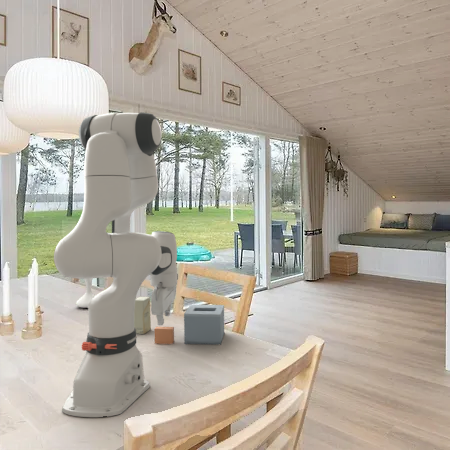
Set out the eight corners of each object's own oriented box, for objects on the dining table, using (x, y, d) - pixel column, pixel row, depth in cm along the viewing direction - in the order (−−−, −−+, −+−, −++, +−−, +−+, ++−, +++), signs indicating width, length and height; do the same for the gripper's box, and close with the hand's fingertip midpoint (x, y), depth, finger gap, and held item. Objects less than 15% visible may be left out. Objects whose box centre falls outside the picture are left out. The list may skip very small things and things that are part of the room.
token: (172, 344, 134) (172, 329, 134) (154, 343, 135) (154, 328, 135) (174, 341, 137) (173, 326, 137) (156, 341, 138) (156, 326, 137)
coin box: (220, 344, 133) (220, 314, 133) (184, 343, 134) (184, 313, 134) (224, 332, 145) (224, 305, 145) (191, 332, 146) (190, 304, 146)
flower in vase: (81, 303, 191) (80, 250, 190) (105, 303, 190) (104, 250, 189) (70, 310, 178) (68, 253, 177) (95, 310, 177) (94, 253, 176)
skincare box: (144, 334, 144) (143, 300, 144) (132, 333, 145) (132, 300, 145) (151, 329, 151) (150, 296, 150) (139, 328, 152) (139, 296, 151)
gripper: (166, 287, 125) (166, 331, 126) (179, 273, 145) (179, 311, 146) (145, 286, 125) (146, 330, 126) (161, 272, 146) (162, 310, 147)
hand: (164, 320), depth 137 cm, fingers open, 8 cm apart
